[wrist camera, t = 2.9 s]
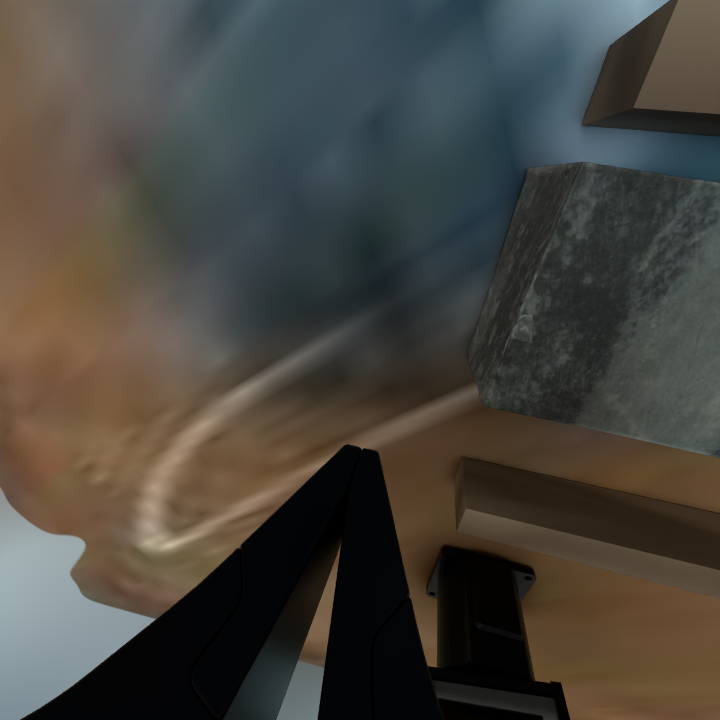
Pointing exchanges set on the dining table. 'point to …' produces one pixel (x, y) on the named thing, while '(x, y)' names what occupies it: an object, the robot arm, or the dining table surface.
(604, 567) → the chute
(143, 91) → the dining table surface
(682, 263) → the stone block
